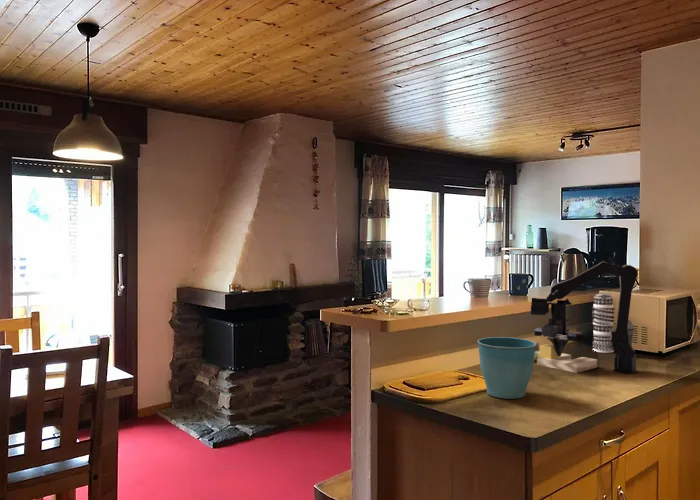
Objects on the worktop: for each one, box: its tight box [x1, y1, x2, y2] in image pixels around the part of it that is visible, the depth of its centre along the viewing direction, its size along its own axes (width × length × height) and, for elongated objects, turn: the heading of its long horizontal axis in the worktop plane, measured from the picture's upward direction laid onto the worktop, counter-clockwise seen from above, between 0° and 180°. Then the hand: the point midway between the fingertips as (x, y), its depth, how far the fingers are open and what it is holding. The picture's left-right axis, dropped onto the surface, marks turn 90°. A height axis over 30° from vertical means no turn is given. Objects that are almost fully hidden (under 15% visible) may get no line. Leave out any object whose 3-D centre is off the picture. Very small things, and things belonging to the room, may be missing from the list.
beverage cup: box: [614, 319, 635, 346], centre depth 235 cm, size 7×7×20 cm
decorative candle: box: [591, 292, 615, 354], centre depth 246 cm, size 9×9×25 cm
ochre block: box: [539, 343, 558, 359], centre depth 221 cm, size 5×5×4 cm
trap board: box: [534, 342, 598, 374], centre depth 223 cm, size 27×14×6 cm, turn 36°
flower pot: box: [477, 336, 537, 400], centre depth 180 cm, size 18×18×17 cm
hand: (559, 356), depth 217 cm, fingers closed
